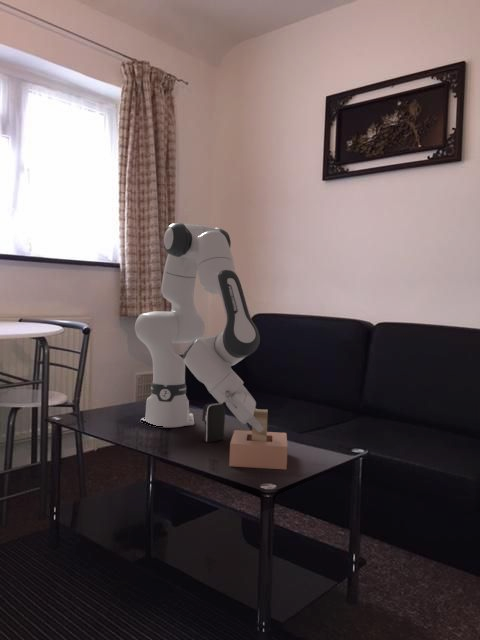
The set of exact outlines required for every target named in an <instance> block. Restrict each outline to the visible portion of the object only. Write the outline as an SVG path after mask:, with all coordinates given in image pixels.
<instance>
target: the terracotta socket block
mask: <svg viewBox="0 0 480 640" xmlns="http://www.w3.org/2000/svg"><path fill="white" fill-rule="evenodd" d="M228 462H229V463H228V466H229V467H238V468H239V467H240V468H252V469H253V468H255V469H270V470H271V469H272V470H274V469H275V470H287V468H288V467H287V466H288V437H287V432H275V431H274V432H273V431H267V440H266V442H264V441H252V430H237V429H235V430H234V431H233V434H232V436H231V439H230V443H229V461H228Z"/></svg>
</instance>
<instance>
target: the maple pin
mask: <svg viewBox="0 0 480 640" xmlns="http://www.w3.org/2000/svg"><path fill="white" fill-rule="evenodd" d="M254 417H255V418H256V419H257V421H258V422H259V423H261V424H262V425H263V430H262V431H261V432H258V431H257V430H256V429H255V428H254V427H253V426H251V431H252V441H264V442H266V440H267V432H268V409H260V408H259V409H257V408H256V409H255V411H254Z"/></svg>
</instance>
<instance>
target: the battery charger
mask: <svg viewBox="0 0 480 640" xmlns="http://www.w3.org/2000/svg"><path fill="white" fill-rule="evenodd" d="M201 417H202V418H201V419H202V420H201V421H203V422H204V436H203V441H204V442H207V443H211V442H212V443H213V442H217V441H221V440H224V439H225V421H226V420H225V419H226V408H225V405H224V403H222V404H220V403H219V402H218V403H217V402H214V403H213V402H212V403H207V404H205V405H204V406H203V408H202V415H201Z"/></svg>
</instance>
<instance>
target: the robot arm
mask: <svg viewBox="0 0 480 640" xmlns="http://www.w3.org/2000/svg"><path fill="white" fill-rule="evenodd" d="M163 247H164V249H165V251H166V252H167V257H166V260H165V264H164V270H163V275H162V281H161V286H160V293H161V295H162V297H163V298H164V299H165V300H166V301H167V302H169V303H171V304H170V305H171V310H170V311H163V310H162V311H158V310H157V311H155V310H154V311H148V312H143V313H141V314H139V315H138V317H137V318H136V321H135V324H134V332H135V335H136V337H137V339H139V341H141V342H142V344H144V345H145V347H146V348H147V349H148V351H149V353H150V356H151V360H152V382H151V386H150V393H151V394H150V396H148V397H147V399H146V401H145V402H146V404H145V417H142V418H140V421H141V420H143V421H146V422H148V423H150V424H153V425H156V426H163V427H162V428H180V427H184V426H194V425H195V419H194V414H193V413H192V412H191V411H192V410H191V409H190V405H189V404H190V403H189V402H190V400H189V399H188V396H187V395H186V394H187V385H186V367H187V368H188V369H189V371H190V372H191V374H192V375H193V376H194V378H196V380H198V381H199V382H200V383H202V384H204V386H205V387H206V389H207V391H208V393H209V394H211V395H212V397H213V398H214V399H215V400H216V401H217V402H218V403H219V404H224V403H225V405H226V407H227V408H228V409H229V411H230V412H231V413H232V414H233V415H234V416H235V417H236V418H237V420H238V421H239V422H240V423H241V424H243V425H247V423H248V424H249V426H251V427H252V426H253V427H254V428H255V429H256V430H257V431H258V432H261V431H262V430H263V425H262V424H261V423H259V422H258V421H257V419H256V418H255V417H254V411H255V409H257V408H256V406H257V402H256V400H255V399H254V397H253V396H252V394H251V393H250V391H248V389H247V388H246V387H245V386H244V381H243V380H242V378H241V377H240V376H239V375H238V374H237V373H236V372H235V371H234V370H233V369H232V366H235V365H236V364H238V363H239V362H241V361H242V360H244V359H245V358H246V357H248V356H250V355H251V354H254V353H255V352H256V350H258V347H259V345H260V342H261V341H260V340H261V337H260V333H259V330H258V327H257V325H256V324H255V323H254V321H253V319H252V317H251V315H250V313H249V312H250V311H249V307H248V305H247V301H246V297H245V295H244V290H243V288H242V284H241V281H240V278H239V277H238V274H237V272H236V268H235V265H234V264H235V263H234V258H233V254H232V250H231V237H230V235H229V232H227V231H226V230H224V229H222V228H219V227H212V226H209V225H204V224H192V223H182V222H177V223H175V222H174V223H171V224H170V225H168V227H167V228H166V229H165V231H164V234H163ZM197 275H198V280H199V283H200V285H201V288H202V289H204V290H205V291H206V292H208V293H210V294H212V295H213V294H214V295H219V296H220V299H221V302H222V305H223V309H224V313H225V317H226V319H225V320H226V323H225V326H224V329H223V330H222V331H221V332H220V333H219V334H215V335H212V336H208V337H203V335H204V333H205V329H206V325H205V321H204V319H203V317H202V316H201V315H200V314H199V312H198V311H197V310H196V307H195V302H194V301H195V300H194V295H195V287H196V281H197ZM187 343H188V344H189V343H190V345H189V346H188V347H187V348H186V349H185V351H184V353H183V354H182V355H183V356H181V355H179V354H177V353H175V350H174V348H173V344H187ZM144 418H145V419H144ZM156 426H155V427H156Z"/></svg>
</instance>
